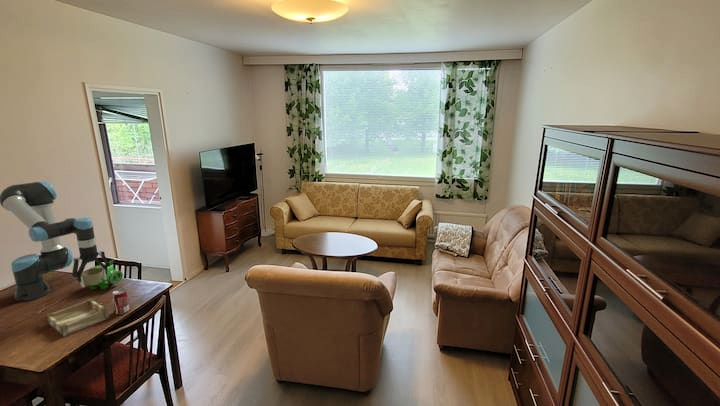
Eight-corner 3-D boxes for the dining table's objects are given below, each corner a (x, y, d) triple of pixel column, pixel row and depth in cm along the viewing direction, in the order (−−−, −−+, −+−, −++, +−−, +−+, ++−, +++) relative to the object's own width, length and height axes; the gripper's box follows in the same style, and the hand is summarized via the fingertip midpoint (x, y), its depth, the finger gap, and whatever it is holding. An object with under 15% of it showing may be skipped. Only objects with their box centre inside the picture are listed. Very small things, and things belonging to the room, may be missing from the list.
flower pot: (93, 288, 186) (90, 276, 185) (77, 286, 188) (75, 274, 186) (109, 280, 196) (107, 268, 194) (94, 278, 198) (92, 266, 196)
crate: (48, 324, 173) (46, 314, 171) (92, 307, 188) (90, 298, 187) (63, 336, 163) (61, 326, 162) (108, 317, 179) (107, 308, 178)
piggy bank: (110, 292, 204) (106, 269, 201) (80, 291, 204) (75, 268, 201) (126, 281, 218) (122, 259, 215) (98, 280, 218) (94, 259, 215)
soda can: (132, 309, 187) (129, 289, 184) (120, 316, 180) (116, 295, 177) (123, 307, 189) (120, 287, 186) (111, 313, 182) (107, 293, 180)
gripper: (64, 254, 175) (72, 293, 181) (113, 241, 194) (119, 276, 199) (58, 250, 179) (66, 288, 184) (107, 238, 197) (113, 273, 203)
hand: (94, 282), depth 192 cm, fingers closed on flower pot, 10 cm apart
